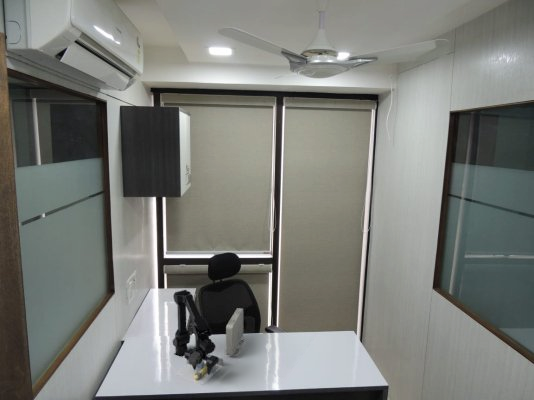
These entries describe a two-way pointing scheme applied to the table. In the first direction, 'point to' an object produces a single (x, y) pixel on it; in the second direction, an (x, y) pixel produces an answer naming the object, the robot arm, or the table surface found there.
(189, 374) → the pipe mounting panel
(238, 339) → the network device
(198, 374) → the yellow capsule with collar
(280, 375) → the table surface
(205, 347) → the robot arm
